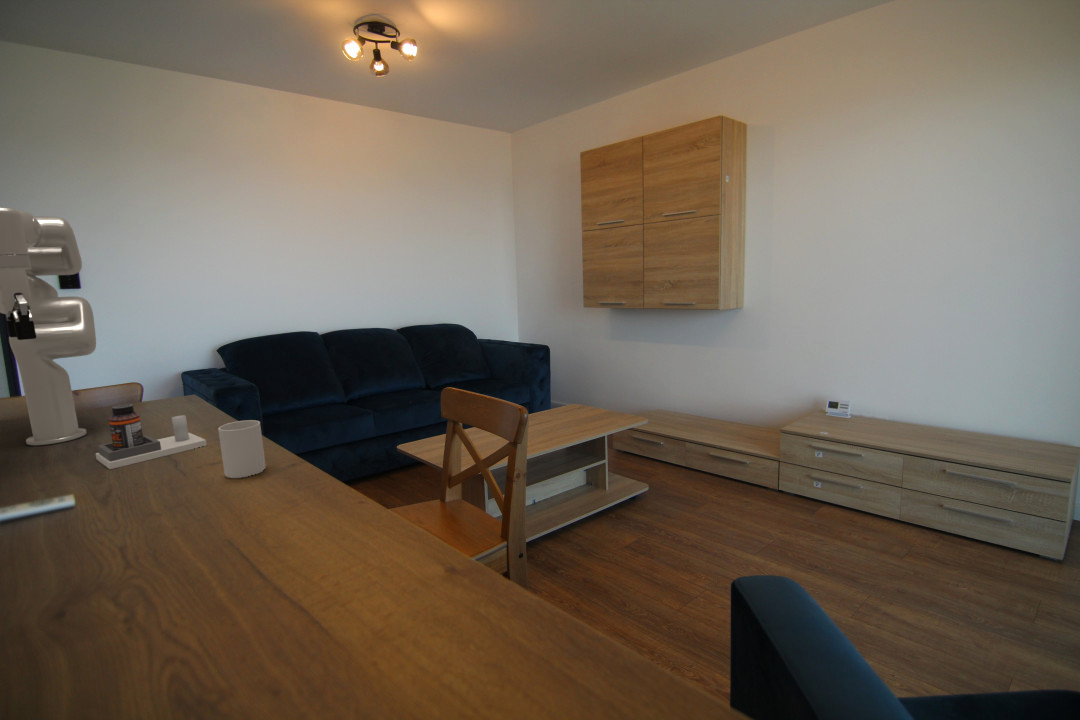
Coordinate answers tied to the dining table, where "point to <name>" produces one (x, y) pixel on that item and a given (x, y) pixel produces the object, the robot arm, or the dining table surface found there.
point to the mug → (242, 448)
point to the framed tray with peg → (151, 447)
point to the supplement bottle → (125, 427)
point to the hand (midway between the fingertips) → (23, 337)
